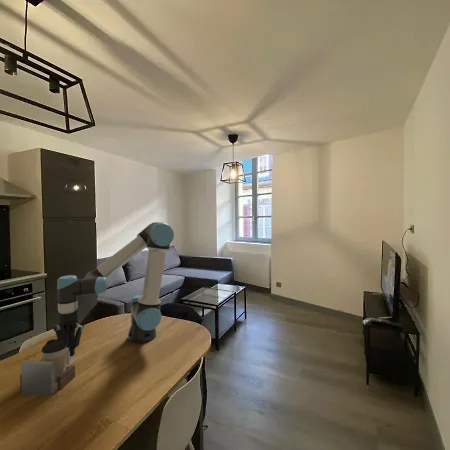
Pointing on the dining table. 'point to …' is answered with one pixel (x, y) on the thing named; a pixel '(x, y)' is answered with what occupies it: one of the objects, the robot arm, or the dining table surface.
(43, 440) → the dining table surface
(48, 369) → the grey bookend
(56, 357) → the coffee cup
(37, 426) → the dining table surface
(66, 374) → the walnut shelf wall
